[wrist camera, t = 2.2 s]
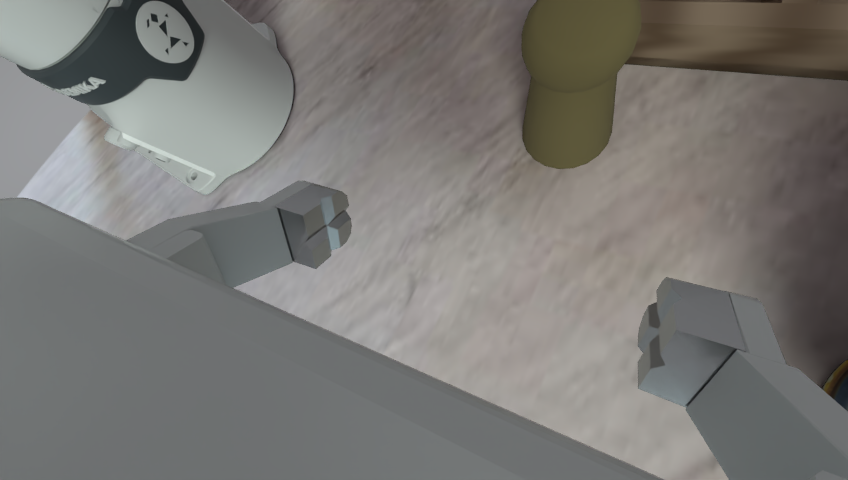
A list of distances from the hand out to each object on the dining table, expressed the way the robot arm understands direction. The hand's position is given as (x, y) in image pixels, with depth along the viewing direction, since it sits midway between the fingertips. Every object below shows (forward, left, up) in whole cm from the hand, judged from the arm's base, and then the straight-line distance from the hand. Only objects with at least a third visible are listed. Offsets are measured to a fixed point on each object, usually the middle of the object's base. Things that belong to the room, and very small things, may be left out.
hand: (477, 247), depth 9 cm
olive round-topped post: (0, +12, -16) cm, 20 cm away
